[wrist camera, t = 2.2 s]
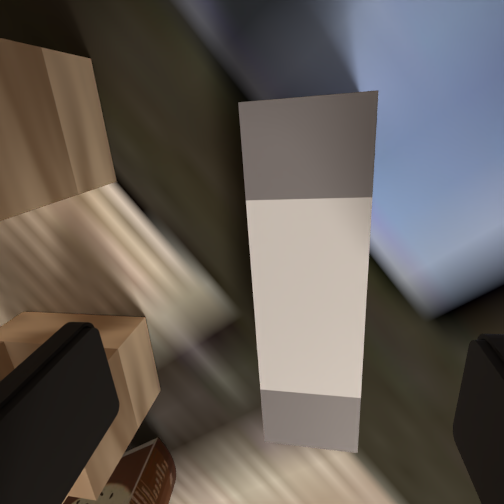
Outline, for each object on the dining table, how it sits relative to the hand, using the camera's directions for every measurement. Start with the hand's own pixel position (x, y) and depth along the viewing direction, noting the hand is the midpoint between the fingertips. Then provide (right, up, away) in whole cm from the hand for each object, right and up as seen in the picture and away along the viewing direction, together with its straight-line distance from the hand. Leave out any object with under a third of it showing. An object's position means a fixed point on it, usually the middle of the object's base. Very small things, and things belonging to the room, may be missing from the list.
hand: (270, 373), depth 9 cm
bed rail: (+3, +3, +8) cm, 9 cm away
